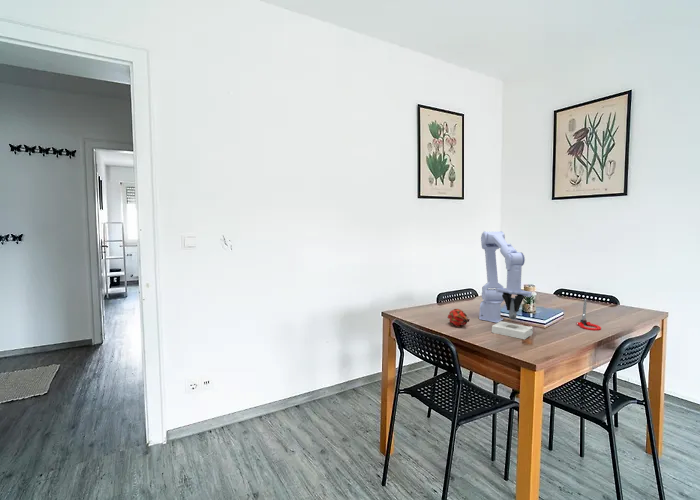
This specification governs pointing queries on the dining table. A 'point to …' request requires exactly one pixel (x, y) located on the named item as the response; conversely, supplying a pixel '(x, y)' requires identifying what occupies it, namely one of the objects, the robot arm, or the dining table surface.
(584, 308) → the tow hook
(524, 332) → the hole block
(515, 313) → the peg
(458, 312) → the dragon fruit
